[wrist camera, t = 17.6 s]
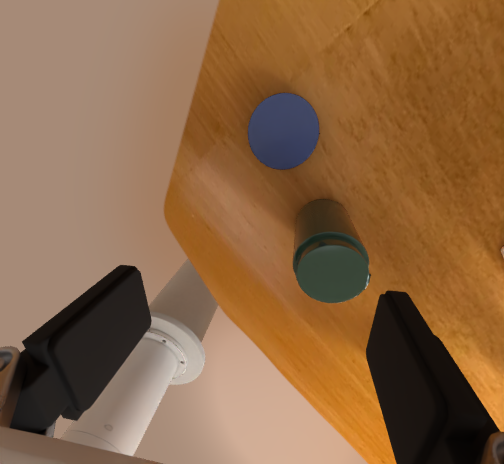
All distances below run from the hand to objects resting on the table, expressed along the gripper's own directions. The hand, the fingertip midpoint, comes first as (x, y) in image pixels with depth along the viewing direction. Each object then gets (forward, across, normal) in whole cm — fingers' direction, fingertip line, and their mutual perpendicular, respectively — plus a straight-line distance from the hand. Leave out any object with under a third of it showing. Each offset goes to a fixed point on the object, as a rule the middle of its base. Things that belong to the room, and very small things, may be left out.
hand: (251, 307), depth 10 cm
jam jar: (+20, -5, +4) cm, 21 cm away
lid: (+18, 0, -6) cm, 19 cm away
